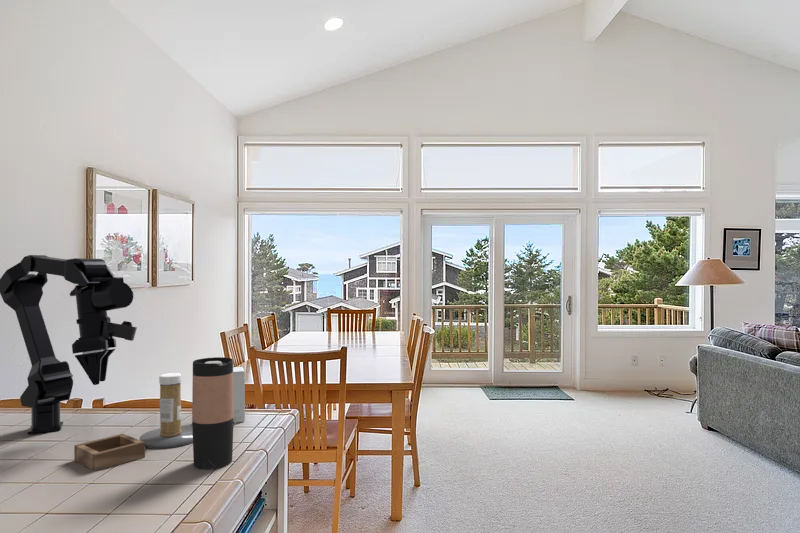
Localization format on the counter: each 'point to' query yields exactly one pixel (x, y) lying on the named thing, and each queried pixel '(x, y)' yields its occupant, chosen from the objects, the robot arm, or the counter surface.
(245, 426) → the counter surface
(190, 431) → the slate plate
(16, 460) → the counter surface
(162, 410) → the sprinkles bottle
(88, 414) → the counter surface
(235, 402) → the supplement box
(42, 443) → the counter surface
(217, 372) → the travel mug
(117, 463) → the walnut socket
